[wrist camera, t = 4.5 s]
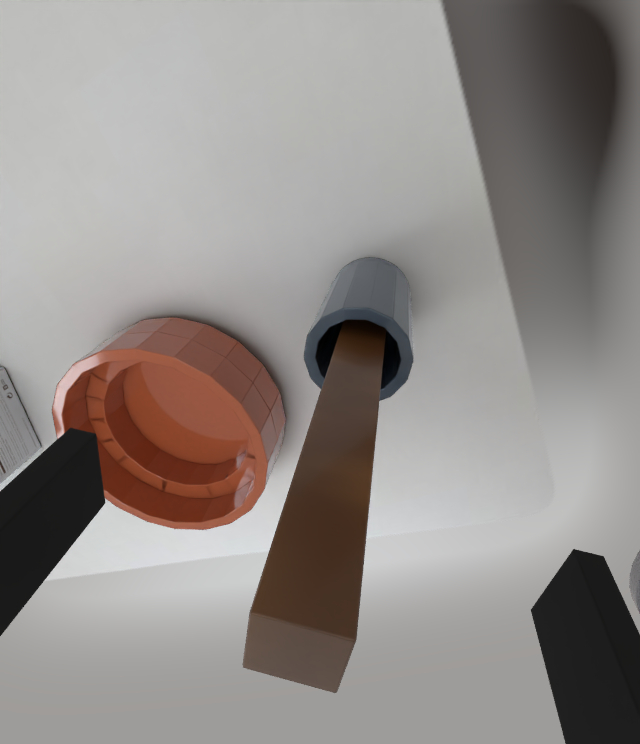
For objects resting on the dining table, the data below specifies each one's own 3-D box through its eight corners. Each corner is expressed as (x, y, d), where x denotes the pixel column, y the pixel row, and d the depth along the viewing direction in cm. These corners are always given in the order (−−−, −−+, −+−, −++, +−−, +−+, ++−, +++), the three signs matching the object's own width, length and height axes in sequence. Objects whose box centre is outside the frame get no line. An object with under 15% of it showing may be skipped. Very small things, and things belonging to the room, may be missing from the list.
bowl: (299, 339, 31) (278, 381, 26) (276, 494, 39) (256, 550, 34) (94, 293, 32) (35, 325, 27) (111, 453, 40) (68, 501, 35)
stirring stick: (390, 288, 28) (356, 641, 9) (382, 319, 29) (336, 694, 10) (356, 280, 28) (249, 612, 9) (349, 312, 29) (242, 668, 10)
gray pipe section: (420, 265, 27) (426, 320, 20) (399, 340, 30) (396, 415, 22) (338, 248, 28) (313, 296, 20) (325, 324, 30) (297, 392, 23)
